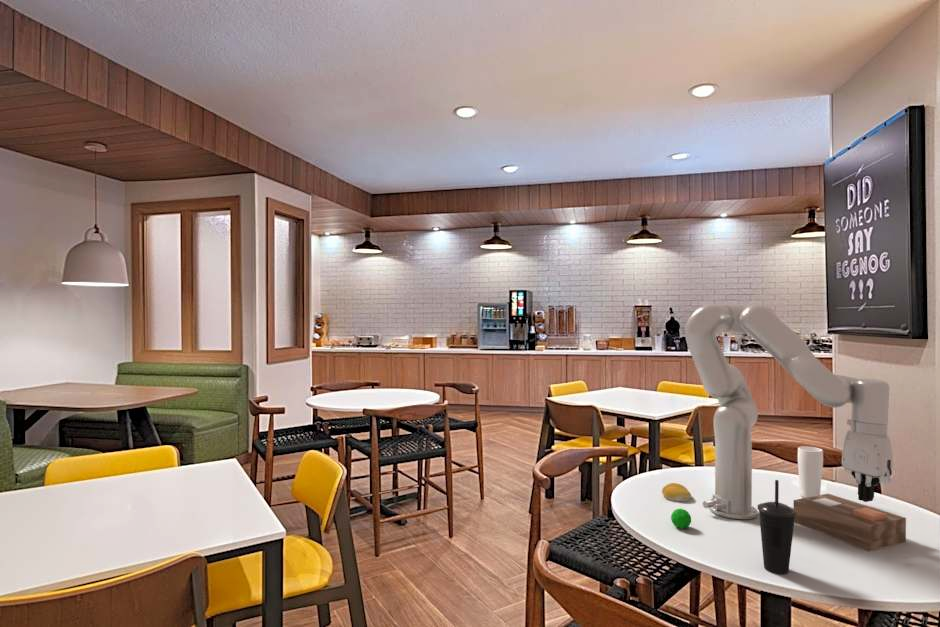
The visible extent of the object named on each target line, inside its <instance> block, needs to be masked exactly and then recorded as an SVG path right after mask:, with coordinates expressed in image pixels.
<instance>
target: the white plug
mask: <svg viewBox="0 0 940 627" xmlns="http://www.w3.org/2000/svg"><path fill="white" fill-rule="evenodd" d="M812 501H814V502H817V503H820V504H823V505H826V506H829V507H832V506H837V505H842V503H839V502H836V501H833V500H830V499H827V498H820V499H815V500H812Z"/></svg>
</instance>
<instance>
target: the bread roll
mask: <svg viewBox="0 0 940 627" xmlns="http://www.w3.org/2000/svg"><path fill="white" fill-rule="evenodd" d="M661 493H662V495H663V498H664V499H665V498H666V500H668V499H671V500H674V501H673V502H676V501H684V502H687V500H688V501H690V500H691V498H692V494H691V492H690V491H689V489H688V488H686V486H684V485H683V484H680V483H676V482H671V483H668V484H666V485H664V486H663V488H662V490H661ZM671 500H670V501H671Z"/></svg>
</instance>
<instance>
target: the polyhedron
mask: <svg viewBox="0 0 940 627" xmlns="http://www.w3.org/2000/svg"><path fill="white" fill-rule="evenodd" d="M670 520H671V523H672V524H673V526H675V527H676V528H678V527H679V528H678V529H680V528H683V529H686V528H687V529H688V528H689V527H690V525H691V522H692V517H691V514H690V513H689V512H688V511H687V510H686V509H684V508H676V509H674V510H673V511H672V513H671V516H670Z"/></svg>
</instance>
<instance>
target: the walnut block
mask: <svg viewBox="0 0 940 627" xmlns="http://www.w3.org/2000/svg"><path fill="white" fill-rule="evenodd" d="M820 498H827V499H830V500H833V501H836V502H839V503H842V505H837V506H832V507H829V506H826V505H823V504H820V503H817V502H814V501H812V500H815V499H820ZM865 507H866V508H869V509H872V510H875V511H878V512H882V513H885V514H886V519H883V520H878V521H871V520H868V519H865V518H862V517H859V516H856V515H853V510H855V509H860V508H865ZM792 508H793V509H795V510H796V515H795V519H794V524H795V523H796V525H797V524H798V525H800V526H803V527H805V528H808V529H811V530H813V531H816V532H819V533H821V534H823V535H826V536H828V537H831V538H834V539H837V540H839V541H842V542H845V543H847V544H849V545H853V546H855V547H858V548H860V549H863V550H865V551H868V552H871V551H876V550H880V549H883V548H886V547H891V546H895V545H899V544H902V543H906V541H907V537H906V536H907V518H906V517H904V516H901V515H898V514H895V513H891V512H888V511H885V510H882V509H879V508H875V507H872V506H868V505H866V504H864V503H860V502H856V501H854V500H850V499H846V498H844V497H841V496H837V495H834V494H832V493H824V494H820V495H818V496H813V497H807V498H803V497H802V498H798V499H793V506H792Z"/></svg>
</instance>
